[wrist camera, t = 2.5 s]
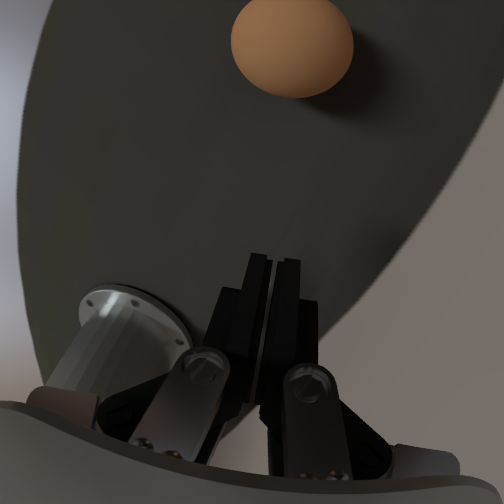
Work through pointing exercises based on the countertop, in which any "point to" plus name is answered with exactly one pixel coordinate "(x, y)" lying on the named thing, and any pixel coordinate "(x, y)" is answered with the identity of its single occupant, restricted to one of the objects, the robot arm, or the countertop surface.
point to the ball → (292, 46)
